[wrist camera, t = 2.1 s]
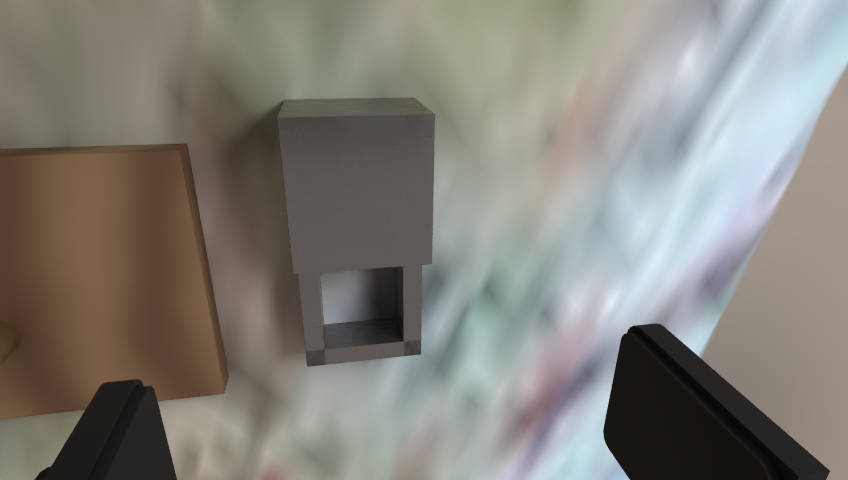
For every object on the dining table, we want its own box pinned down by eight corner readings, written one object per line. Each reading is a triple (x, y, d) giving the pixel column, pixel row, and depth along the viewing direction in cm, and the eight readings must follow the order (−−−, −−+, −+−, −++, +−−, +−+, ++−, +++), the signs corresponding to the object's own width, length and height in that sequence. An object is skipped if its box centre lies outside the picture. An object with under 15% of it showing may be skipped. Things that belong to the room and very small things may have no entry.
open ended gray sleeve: (413, 330, 31) (429, 382, 27) (308, 340, 30) (306, 397, 25) (414, 97, 25) (434, 114, 21) (284, 99, 24) (277, 117, 20)
